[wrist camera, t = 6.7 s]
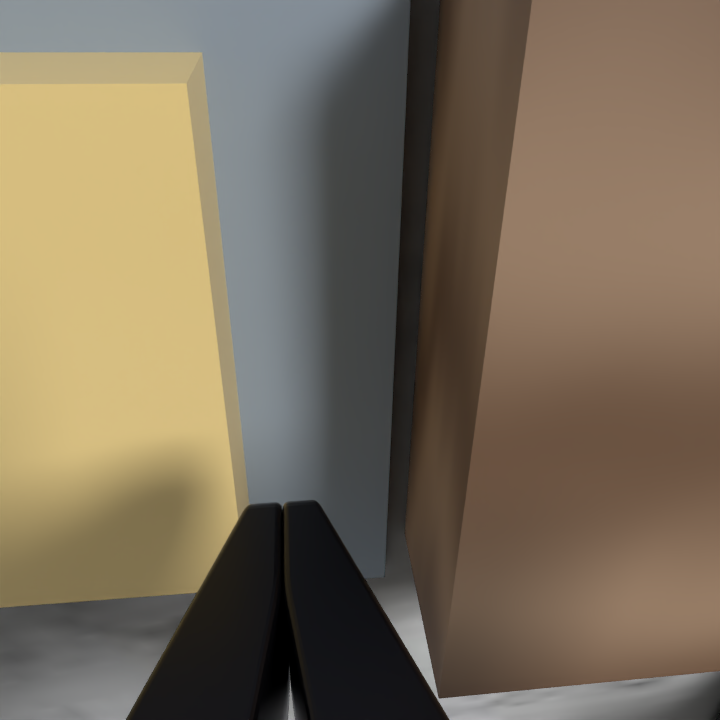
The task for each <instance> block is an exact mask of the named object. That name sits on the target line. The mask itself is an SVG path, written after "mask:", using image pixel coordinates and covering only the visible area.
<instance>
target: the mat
mask: <svg viewBox="0 0 720 720" xmlns="http://www.w3.org/2000/svg"><path fill="white" fill-rule="evenodd" d="M409 22H410V0H0V52H202V56H203V66H204V75H205V85H206V94H207V104H208V114H209V123H210V133H211V142H212V152H213V161H214V171H215V181H216V190H217V200H218V209H219V219H220V229H221V238H222V248H223V257H224V267H225V276H226V286H227V296H228V305H229V315H230V324H231V334H232V344H233V353H234V363H235V372H236V382H237V391H238V401H239V411H240V420H241V430H242V439H243V449H244V459H245V468H246V478H247V487H248V497H249V504H256V503H271V502H278V503H279V504H280V505H281V506H282V510H283V505H284V503H286V502H288V501H300V500H316V501H317V502H318V503H319V504H320V505H321V507H322V508H323V510H324V512H325V513H326V515H327V517H328V518H329V520H330V522H331V523H332V525H333V527H334V528H335V530H336V532H337V533H338V535H339V537H340V538H341V540H342V542H343V543H344V545H345V547H346V548H347V550H348V552H349V553H350V555H351V557H352V558H353V560H354V562H355V563H356V565H357V567H358V568H359V570H360V572H361V573H362V575H363V577H364V578H365V579H367V578H379V577H385V558H386V536H387V514H388V491H389V469H390V447H391V424H392V402H393V380H394V357H395V335H396V313H397V290H398V268H399V246H400V223H401V201H402V179H403V156H404V134H405V112H406V89H407V67H408V45H409ZM56 604H57V603H56ZM43 605H44V604H43ZM29 606H32V605H29ZM16 607H20V606H16ZM3 608H7V607H3Z"/></svg>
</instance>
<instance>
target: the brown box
mask: <svg viewBox="0 0 720 720" xmlns="http://www.w3.org/2000/svg"><path fill="white" fill-rule="evenodd" d="M405 538H406V542H407V547H408V552H409V557H410V562H411V567H412V571H413V576H414V581H415V586H416V591H417V596H418V601H419V605H420V610H421V615H422V620H423V625H424V630H425V634H426V639H427V644H428V649H429V654H430V659H431V663H432V668H433V673H434V678H435V683H436V688H437V692H438V697H439V698H448V697H459V696H469V695H479V694H489V693H499V692H510V691H520V690H530V689H540V688H551V687H561V686H571V685H581V684H591V683H602V682H612V681H622V680H632V679H642V678H653V677H663V676H673V675H683V674H694V673H704V672H714V671H720V0H440V10H439V25H438V40H437V55H436V70H435V85H434V100H433V115H432V130H431V145H430V160H429V176H428V191H427V206H426V221H425V236H424V251H423V266H422V281H421V296H420V311H419V326H418V341H417V356H416V371H415V386H414V401H413V416H412V431H411V446H410V461H409V476H408V491H407V506H406V521H405Z"/></svg>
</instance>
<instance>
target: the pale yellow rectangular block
mask: <svg viewBox="0 0 720 720" xmlns="http://www.w3.org/2000/svg"><path fill="white" fill-rule="evenodd" d="M248 505H249V497H248V487H247V478H246V468H245V459H244V449H243V439H242V430H241V420H240V411H239V401H238V391H237V382H236V372H235V363H234V353H233V344H232V334H231V324H230V315H229V305H228V296H227V286H226V276H225V267H224V257H223V248H222V238H221V229H220V219H219V209H218V200H217V190H216V181H215V171H214V161H213V152H212V142H211V133H210V123H209V114H208V104H207V94H206V85H205V75H204V66H203V56H202V52H0V608H3V607H16V606H29V605H43V604H56V603H69V602H82V601H95V600H109V599H122V598H135V597H148V596H162V595H175V594H188V593H197V592H198V590H199V588H200V587H201V585H202V583H203V581H204V579H205V578H206V576H207V574H208V572H209V570H210V569H211V567H212V565H213V563H214V562H215V560H216V558H217V556H218V554H219V553H220V551H221V549H222V547H223V546H224V544H225V542H226V540H227V538H228V537H229V535H230V533H231V531H232V530H233V528H234V526H235V524H236V522H237V521H238V519H239V517H240V515H241V513H242V512H243V510H244V509H245V507H246V506H248Z"/></svg>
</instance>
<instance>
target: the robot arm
mask: <svg viewBox="0 0 720 720" xmlns="http://www.w3.org/2000/svg"><path fill="white" fill-rule="evenodd" d="M290 680H291V692H292V700H293V708H294V715H295V720H449V718H448V717H447V715H446V713H445V712H444V710H443V708H442V707H441V705H440V703H439V702H438V700H437V698H436V697H435V695H434V693H433V692H432V690H431V688H430V687H429V685H428V683H427V682H426V680H425V678H424V677H423V675H422V673H421V672H420V670H419V668H418V667H417V665H416V663H415V662H414V660H413V658H412V657H411V655H410V653H409V652H408V650H407V648H406V647H405V645H404V643H403V642H402V640H401V638H400V637H399V635H398V633H397V632H396V630H395V628H394V627H393V625H392V623H391V622H390V620H389V618H388V617H387V615H386V613H385V612H384V610H383V608H382V607H381V605H380V603H379V602H378V600H377V598H376V597H375V595H374V593H373V592H372V590H371V588H370V587H369V585H368V583H367V582H366V580H365V578H364V577H363V575H362V573H361V572H360V570H359V568H358V567H357V565H356V563H355V562H354V560H353V558H352V557H351V555H350V553H349V552H348V550H347V548H346V547H345V545H344V543H343V542H342V540H341V538H340V537H339V535H338V533H337V532H336V530H335V528H334V527H333V525H332V523H331V522H330V520H329V518H328V517H327V515H326V513H325V512H324V510H323V508H322V507H321V505H320V504H319V503H318V502H317V501H316V500H300V501H288V502H286V503H284V505H283V510H282V506H281V505H280V504H279V503H278V502H271V503H256V504H249V505H248V506H246V507H245V509H244V510H243V512H242V513H241V515H240V517H239V519H238V521H237V522H236V524H235V526H234V528H233V530H232V531H231V533H230V535H229V537H228V538H227V540H226V542H225V544H224V546H223V547H222V549H221V551H220V553H219V554H218V556H217V558H216V560H215V562H214V563H213V565H212V567H211V569H210V570H209V572H208V574H207V576H206V578H205V579H204V581H203V583H202V585H201V587H200V588H199V590H198V592H197V594H196V595H195V597H194V599H193V601H192V603H191V604H190V606H189V608H188V610H187V611H186V613H185V615H184V617H183V619H182V620H181V622H180V624H179V626H178V627H177V629H176V631H175V633H174V635H173V636H172V638H171V640H170V642H169V644H168V645H167V647H166V649H165V651H164V652H163V654H162V656H161V658H160V660H159V661H158V663H157V665H156V667H155V668H154V670H153V672H152V674H151V676H150V677H149V679H148V681H147V683H146V685H145V686H144V688H143V690H142V692H141V693H140V695H139V697H138V699H137V701H136V702H135V704H134V706H133V708H132V709H131V711H130V713H129V715H128V717H127V718H126V720H288V711H289V693H290ZM716 720H720V713H719V715H718V716H717V718H716Z"/></svg>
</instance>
